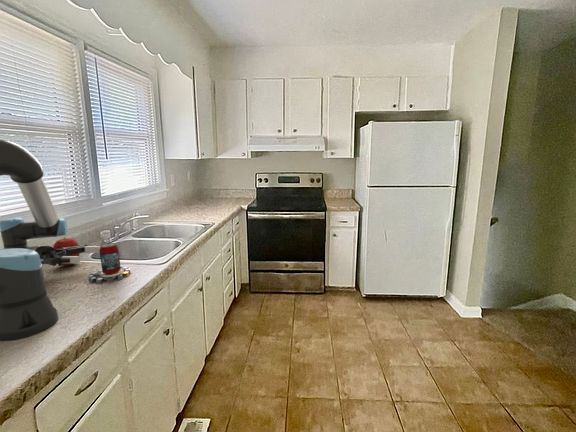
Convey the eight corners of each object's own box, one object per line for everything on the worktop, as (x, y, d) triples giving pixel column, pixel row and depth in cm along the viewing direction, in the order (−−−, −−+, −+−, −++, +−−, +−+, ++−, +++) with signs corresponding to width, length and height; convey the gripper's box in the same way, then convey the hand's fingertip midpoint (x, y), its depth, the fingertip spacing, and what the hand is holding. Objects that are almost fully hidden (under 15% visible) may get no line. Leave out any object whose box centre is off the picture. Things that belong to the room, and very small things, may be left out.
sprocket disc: (80, 283, 126) (79, 279, 126) (103, 269, 141) (102, 266, 141) (118, 283, 126) (117, 279, 125) (136, 269, 140) (136, 265, 140)
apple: (56, 270, 141) (51, 240, 139) (54, 265, 149) (49, 236, 146) (84, 265, 148) (79, 236, 145) (80, 260, 155) (75, 232, 153)
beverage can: (102, 276, 128) (98, 248, 126) (102, 271, 134) (98, 244, 132) (121, 273, 132) (117, 245, 129) (120, 268, 137) (117, 241, 135)
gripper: (63, 254, 145) (108, 253, 145) (15, 274, 121) (70, 274, 120) (60, 238, 144) (106, 237, 143) (12, 255, 119) (67, 255, 119)
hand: (90, 254), depth 132 cm, fingers open, 13 cm apart
